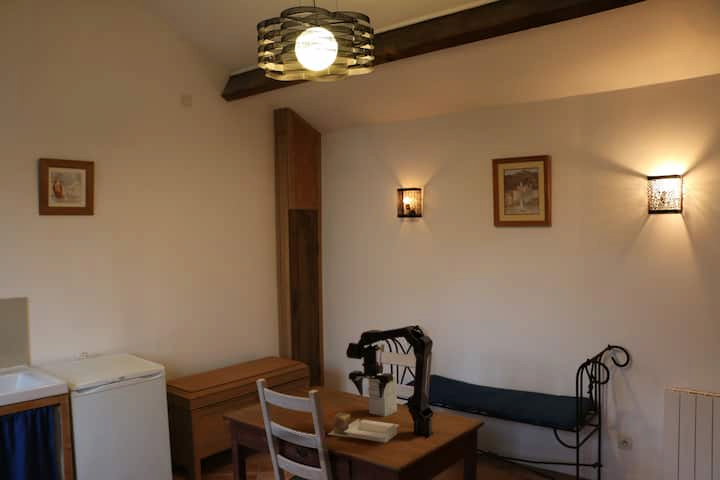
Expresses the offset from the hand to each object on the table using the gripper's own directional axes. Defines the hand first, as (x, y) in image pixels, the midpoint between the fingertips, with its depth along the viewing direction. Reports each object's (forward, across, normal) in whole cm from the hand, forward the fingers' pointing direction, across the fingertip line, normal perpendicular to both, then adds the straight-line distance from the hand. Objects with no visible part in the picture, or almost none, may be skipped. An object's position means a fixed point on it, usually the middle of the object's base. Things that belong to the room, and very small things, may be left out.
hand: (371, 396), depth 257 cm
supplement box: (+13, +4, -18) cm, 23 cm away
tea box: (+12, +7, +14) cm, 19 cm away
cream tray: (+12, -6, +12) cm, 18 cm away
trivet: (+12, +7, +13) cm, 20 cm away
